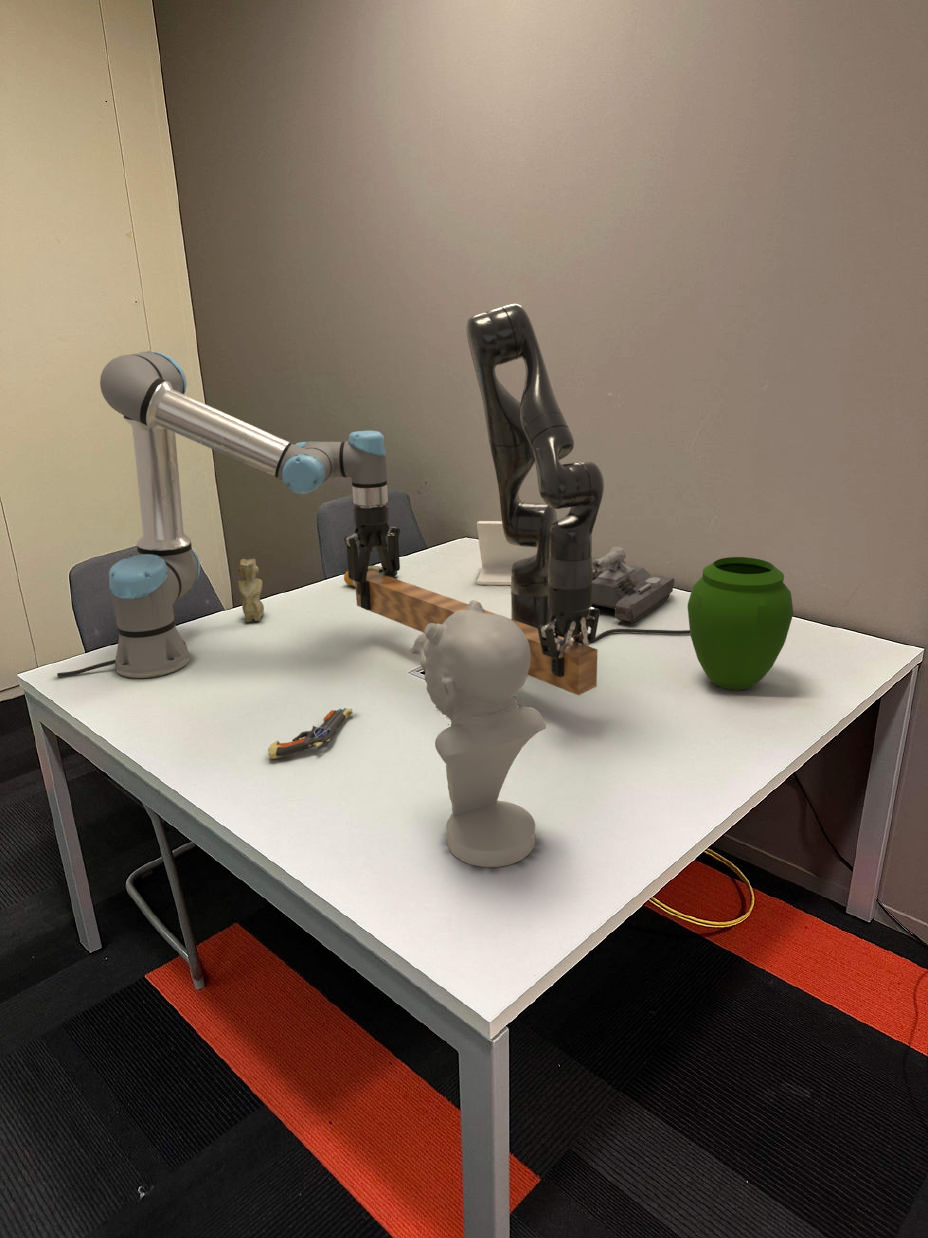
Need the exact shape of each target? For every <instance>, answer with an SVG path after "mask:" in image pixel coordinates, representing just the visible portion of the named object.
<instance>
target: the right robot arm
mask: <svg viewBox="0 0 928 1238" xmlns="http://www.w3.org/2000/svg"><path fill="white" fill-rule="evenodd" d="M466 337H467V343H468V347H469V348H468V349H469V352H470V356H471V360H472V363H473V368H474V373H475V375H476V380H477V383H478V387H479V392H480V396H481V400H482V405H483V413H484V417H485V424H486V431H487V436H488V443H489V447H490V453H491V457H492V462H493V466H494V470H495V477H496V482H497V486H498V487H497V488H498V496H499V505H500V506H499V507H500V517H501V521H502V526H503V532H504V536H505V539H506V541H507V542H508V543H509V544H511V545H515V546H526V547H537V554H536V555H534V556H531V557H528V558H525V559H521V560H518V561H516V562H515V563H513V565H512V567H511V585H510V588H511V589H510V597H511V599H510V603H511V604H510V606H511V607H510V609H511V610H510V615H511V617H510V619H512V620H515V621H518V622H521V623H523V624H526V625H529V626H532V627H535V628H538V633H539V638H540V643H541V649H542V654H543V655H547V656H549V657H551V658H552V663H551V665H552V666H551V667H552V668H551V671H552V673H553V674H554V675H555V676H558V677H562V676H564V664H565V658H564V654H565V650H566V647H567V646H568V645H569V644H570V640H572V641H575V642H578V643H581V644H584V645H586V646H589V644H590V643H595V642H597V641H599V640H601V639H603V638H604V637H605V636H607V635H610V634H615V633H639V634H665V635H667V634H668V635H687V634H688V635H690V629H686V630H683V629H681V630H680V629H679V630H677V629H676V630H671V629H668V630H667V629H643V628H642V629H641V628H613V629H608V630H606V631H603V632H602V633H599V634H598V635H597V632H598V626H599V619H600V614H601V611H600V609H599V608H596V607H593V604H592V579H593V564H592V561H593V557H592V552H593V551H592V549H593V530H594V527H595V524H596V521H597V517H598V514H599V510H600V507H601V504H602V500H603V497H604V491H605V481H604V480H605V479H604V475H603V472H602V470H601V469H600V467H599V466H598V465H597V464H596V463H595V462H592V461H586V460H585V461H576V462H572V463H571V462H569V463H564V464H562V463H561V460H562V459H564V458H566V457H567V456H569V455H570V454H571V452H572V451H573V450H574V448H575V447H574V446H575V439H574V436H573V433H572V431H571V429H570V427H569V425H568V423H567V421H566V419H565V417H564V415H563V412H562V410H561V408H560V406H559V403H558V401H557V398H556V396H555V393H554V391H553V387H552V383H551V380H550V376H549V374H548V370H547V366H546V364H545V363H546V362H545V360H544V357H543V354H542V350H541V347H540V345H539V341H538V338H537V335H536V332H535V329H534V326H533V323H532V321H531V319H530V317H529V314H528V313H527V311H526V310H525V308H524V307H523V306H522V305H521V304H518V303H512V304H511V303H510V304H507V305H502V306H499V307H497V308H494V309H490V310H487V311H485V312H482V313H478V314H476V315H475V314H474V315H473V316H471V317H469V319H468V320H467V322H466ZM520 359H522V361H523V363H524V367H525V368H524V369H525V379H524V386H523V390H522V394H521V399H520V401H519V400H518V399H517V398H515V397H514V396H513V395H512V394H511V393H510V392H509V391H508V390H507V389H506V387H505V386H504V385H503V384H502V382H501V381H500V380H499V378H498V376H497V374H496V373H497V372H496V368H497V367H498V366H502V365H505V364H508V363H511V362H514V361H516V360H520ZM534 465H535V469H536V476H537V486H538V491H539V495H540V497H541V499H542V500H543V502H531V501H530V502H529V501H522V499H521V498H520V490H521V487H522V485H523V483H524V481H525V479H526V478H527V476H528V475H529V473H530V472H531V470H532V468H533V467H534ZM567 508H570V509H569V511H568V513H567V514H565V516H563V517H561V518H559V519H558V514H557V510H562V509H567ZM589 628H590V630H589ZM588 631H589V632H588ZM558 636H560V637H563V638H564V639H563V640H562V639H559V638H558ZM558 644H560V648H559V650H557V645H558ZM548 647H549V648H548Z"/></svg>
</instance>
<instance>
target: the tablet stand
mask: <svg viewBox="0 0 928 1238" xmlns="http://www.w3.org/2000/svg"><path fill="white" fill-rule="evenodd" d="M476 531H477V537H478V544H479V551H480V557H481V558H480V559H481V570H480V573H479V575H478V577H477V580H476V581H477V582H476V584H478V585H484V586H485V585H486V586H487V585H489V586H490V585H491V586H511V567H512V565H513V563H515V562H516V561H518V560H521V559H525V558H528V557H531V556H534V555H536V554H537V547H526V546H515V545H511V544H509V543H508V542H507V541H506V539H505V536H504V532H503V526H502V520H477V522H476Z"/></svg>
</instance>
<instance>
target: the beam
mask: <svg viewBox="0 0 928 1238" xmlns="http://www.w3.org/2000/svg"><path fill="white" fill-rule="evenodd" d="M366 581H368V582H369V587H370V605H371V610H368V611H369V612H371V613H374V614H376V615H378V616H381V617H384V618H386V619H388V620H391V621H394V622H396V623H398V624H401V625H404V626H406V627H408V628H411V629H413V630H416V631H419V632H421V633H422V634H423V633H425V628H426V626H427V625H428V624H430V623H434V624H443V623H444V622H445V620H446V619H447V618H448V617H450V616H451V615H452V614H453V613H455V612H457V611H459V610H466V609H467V607H468V605H469V603H467V602H464V601H460V600H458V599H454V598H451V597H449V596H446V595H443V594H440V593H438V592H434V591H431V590H429V589H426V588H423V587H420V586H417V585H415V584H412V583H409V582H406V581H403V580H400V579H397V578H395V577H393V578H392V577H389V576H386V575H383V574H380V573H377V572H374V571H369V572H367V577H366ZM354 587H355V588H354V589H355V600H356V606H357V607H359V608H361V599H360V595H358V593H357V582H355V586H354ZM484 613H485V614H497V613H494V612H492V611H489V610H486V609H484ZM497 615H499V614H497ZM510 619H511V618H510ZM511 620H512V619H511ZM512 621H513V622H514V623H515V624H516V625H517V626H518V627H519V628H520V629H521V630H522V632H523V633H524V634H525V636H526V638H527V640H528V643H529V646H530V652H531V653H530V655H531V656H530V666H529V671H528V675H527V676H529V677H532V678H534V679H536V680H538V681H542V682H543V683H547V684H549V685H551V686H554V687H556V688H559V689H561V690H563V691H566V692H569V693H571V694H574V695H576V696H580V695H582V694H584V693H586V692H588V691H590V690H592V689H595V688H596V687H597V685H598V684H597V681H598V648H595V647H593V646H589V645H588V646H586V645H584V644H581V643H578V642H575V641H573V639H571V640H570V644H569V645H568V646H567V647H566V650H565V654H564V658H565V664H564V676H562V677H558V676H555V675H554V674H553V673H552V671H551V668H552V667H551V666H552V665H551V663H552V658H551V657H549V656H547V655H543V654H542V649H541V643H540V638H539V633H538V628H535V627H532V626H529V625H526V624H523V623H521V622H518V621H515V620H512ZM558 638H559V639H562V640H563V639H564V638H563V637H560V636H558ZM548 648H549V647H548ZM559 648H560V644H558V645H557V650H559Z"/></svg>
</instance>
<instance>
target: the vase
mask: <svg viewBox="0 0 928 1238" xmlns="http://www.w3.org/2000/svg"><path fill="white" fill-rule="evenodd" d="M784 580H785V574H784V573H783V572H782V571H781V570H780V569H779V568H777V567H776V566H775V565H774V564H773V563H771V562H770V561H767V560H764V559H761V558H754V557H746V556H730V557H723V558H722V557H721V558H718V559H716V560H715V561H713V562H712V563H710V564H708V565H706V566H705V567H704V568H703V569H702V576H701V577H700V578H699V579H698V580H697V581H696V582H695V583H694V584H693V585H692V588H691V591H690V595H689V598H688V601H687V613H688V614H687V615H688V625H689V630H690V634H689V635H690V636H689V637H690V640H691V642H692V645H693V648H694V651H695V656H696V659H697V661H698V663H699V665H700V666H701V668H702V670H703V672H704V674H705V675H706V676H707V677H708V678H709V680H710V681H711V682H712V683H713V684H714V685H716V686H718V687H720V688H723V689H726V690H731V691H740V690H747V689H750V688H752V687H754V686H755V685H757V684H758V683H759V682H760V681H761V680H763V679H764V677H765V676H766V675H767V674H768V673H769V672H770V670H771V669H772V668H773V666H774V665H775V663H776V661H777V659H778V657H779V655H780V653H781V651H782V650H783V648H784V646H785V643H786V640H787V637H788V634H789V631H790V630H789V629H790V627H791V623H792V620H793V617H794V607H793V606H794V605H793V599H792V592H791V590H790V589H789V588H788V586H787V585H786V584H785V583H784Z"/></svg>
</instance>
